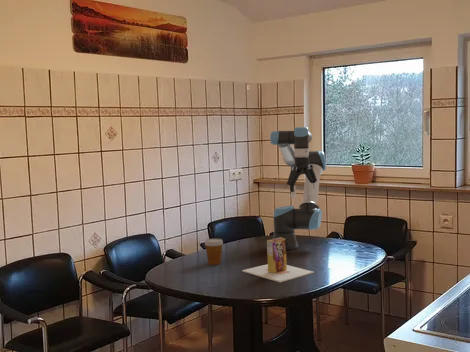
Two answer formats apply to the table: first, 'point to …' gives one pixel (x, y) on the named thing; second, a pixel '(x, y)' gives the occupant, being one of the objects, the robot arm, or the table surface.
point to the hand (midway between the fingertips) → (302, 196)
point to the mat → (278, 273)
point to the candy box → (276, 255)
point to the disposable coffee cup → (214, 251)
